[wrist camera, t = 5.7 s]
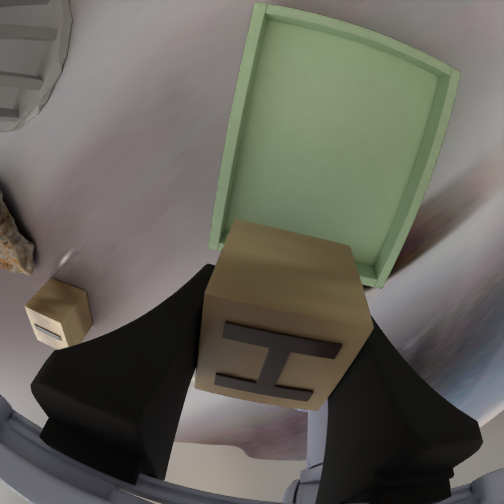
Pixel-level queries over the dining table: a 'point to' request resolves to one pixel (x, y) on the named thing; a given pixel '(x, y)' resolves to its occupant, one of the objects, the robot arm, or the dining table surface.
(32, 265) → the rock
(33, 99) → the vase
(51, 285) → the wooden i block
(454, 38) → the dining table surface
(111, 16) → the dining table surface
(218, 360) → the wooden h block
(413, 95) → the tray
